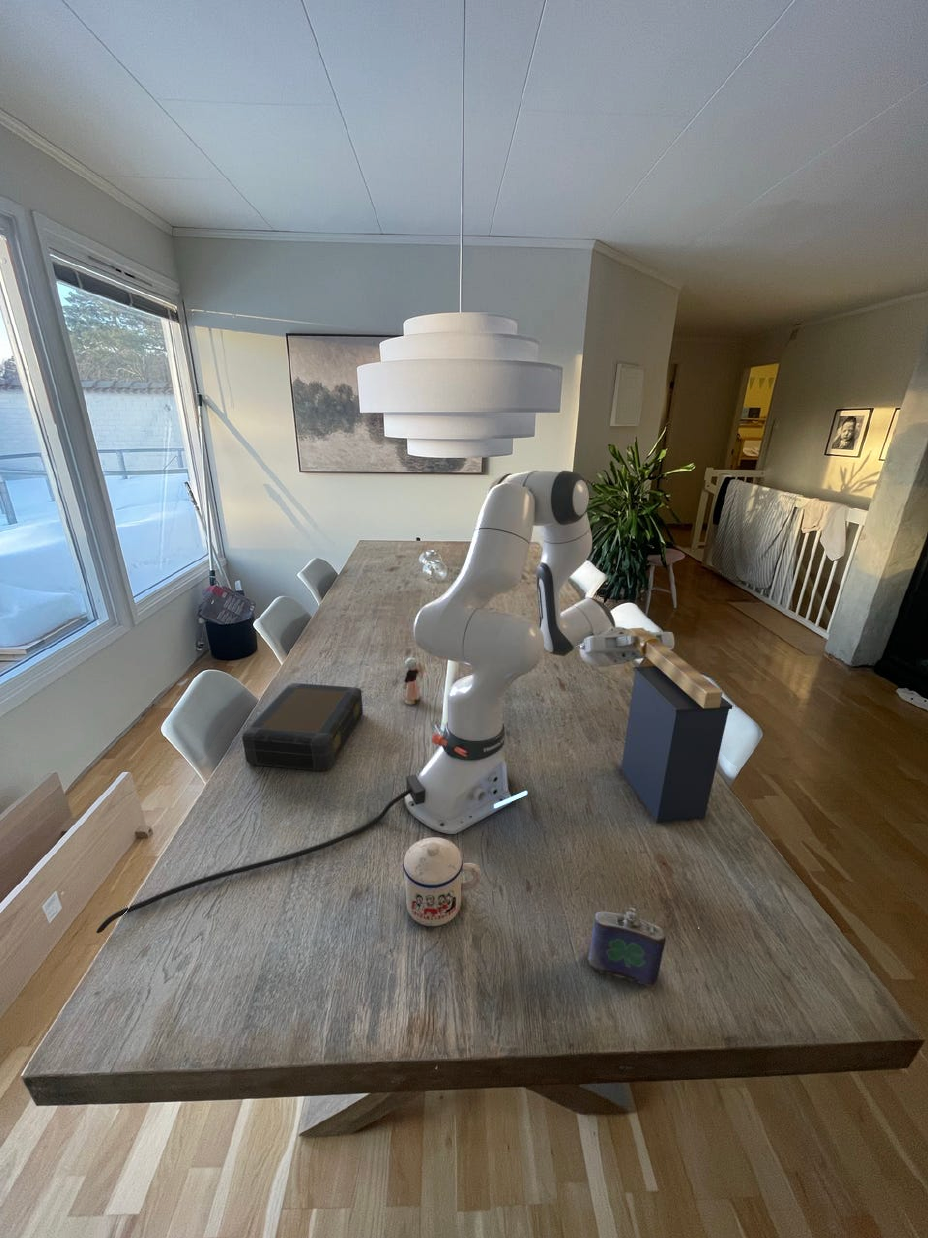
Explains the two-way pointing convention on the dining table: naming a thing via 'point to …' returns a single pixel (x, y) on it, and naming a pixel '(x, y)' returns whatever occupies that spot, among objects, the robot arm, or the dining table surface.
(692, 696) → the ring rod
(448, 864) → the teacup with lid
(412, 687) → the grandmother figurine
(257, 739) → the black hard case
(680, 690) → the stand
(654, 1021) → the dining table surface
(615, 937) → the flask
